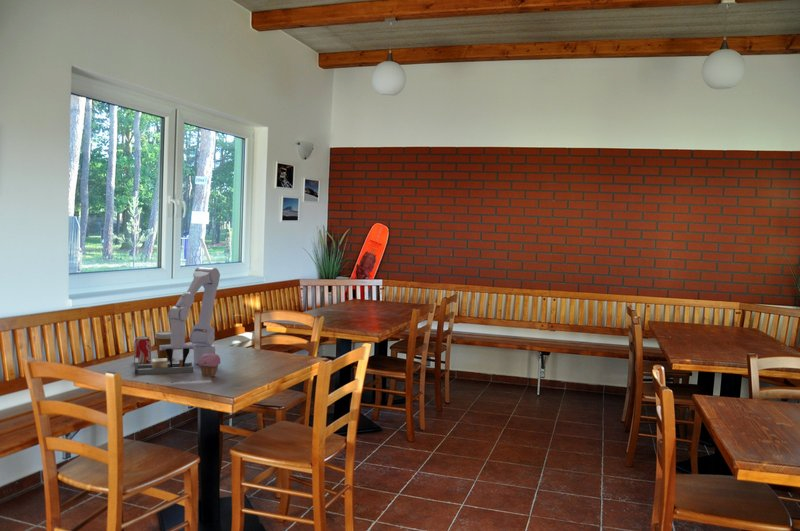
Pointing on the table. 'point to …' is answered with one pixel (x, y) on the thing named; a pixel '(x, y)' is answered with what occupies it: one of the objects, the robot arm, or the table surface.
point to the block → (164, 363)
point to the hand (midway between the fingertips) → (177, 366)
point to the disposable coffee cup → (163, 343)
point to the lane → (149, 370)
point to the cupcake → (209, 364)
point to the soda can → (142, 350)
